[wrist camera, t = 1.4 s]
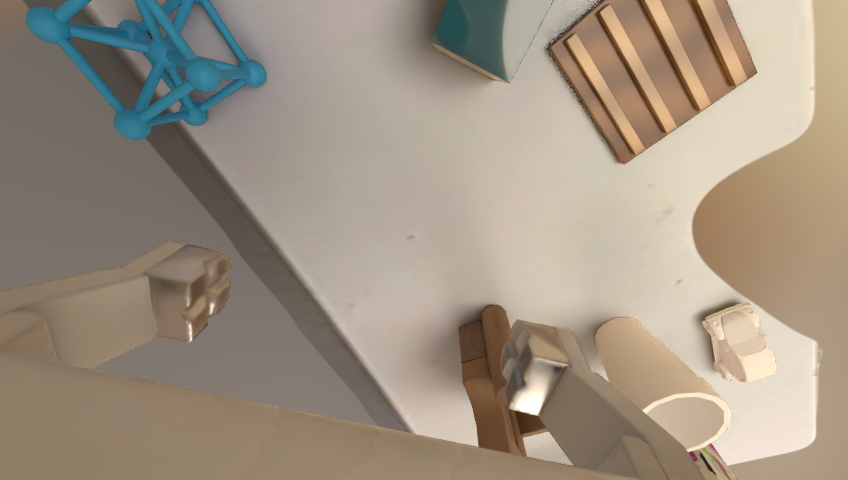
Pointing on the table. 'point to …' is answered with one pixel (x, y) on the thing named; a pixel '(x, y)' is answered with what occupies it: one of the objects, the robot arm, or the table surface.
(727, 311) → the car
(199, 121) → the molecular structure
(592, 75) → the drying rack
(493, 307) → the wooden toy
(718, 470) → the candy bar box
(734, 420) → the table surface
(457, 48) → the mirrored box
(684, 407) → the foam cup
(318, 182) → the table surface
